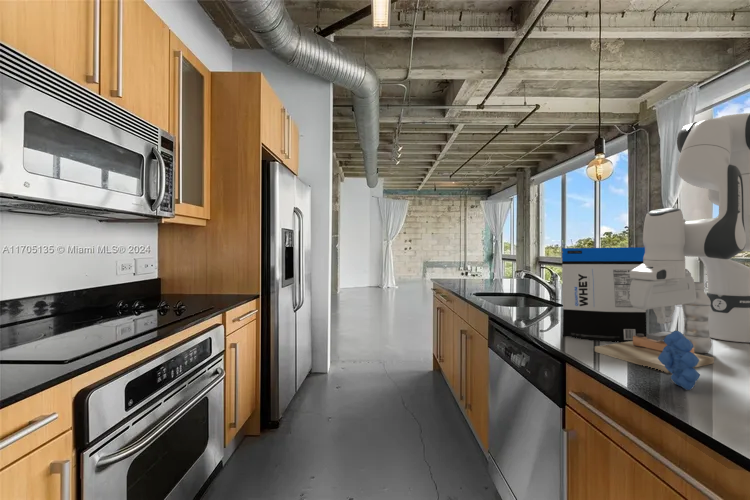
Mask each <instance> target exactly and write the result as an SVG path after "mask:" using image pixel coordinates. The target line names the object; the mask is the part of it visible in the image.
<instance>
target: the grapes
mask: <svg viewBox="0 0 750 500" xmlns="http://www.w3.org/2000/svg"><path fill="white" fill-rule="evenodd" d="M671 332H672V333H671V334H668V335H667V336H666V337H665V339H664V340H663V341H664V342H665V343H666V344H667V346H665V347H664V349H663V351H662V353H661V354H660V355H659V357H658V359H659V361H660V362H661V363H662V364H663V365H665V367H666V369H667V370H668V371H669V372H670V373H671V376H670V380H672V382H673V383H674V384H675V385H677V386H678V387H681V388H683V389H684V390H686V391H687V390H689V391H690V390H692V389H693V388H694V386H695V385H696V383H697V381H698V380H699V379H700V376H701V374H700V372H699V371H697V370H696V369H695V368H696V367H695V366H696V365H697V364H698V362H699V359H698V358H697V357H696V356H695V355H694V354H693V353H692V352H690V351H691V350H692V348H693V346H694V345H693V344H692V343H691V342H690V341H689V340H688V339H687V338H686V337H685V336H684V335H683V332H681V331H679V330H673V331H671ZM693 367H694V368H693Z"/></svg>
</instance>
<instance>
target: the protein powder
mask: <svg viewBox="0 0 750 500" xmlns="http://www.w3.org/2000/svg"><path fill="white" fill-rule="evenodd" d="M561 251H562V255H561V258H562V259H561V260H562V262H561V263H562V265H561V267H562V269H561V272H562V273H561V274H562V276H561V278H562V279H561V281H562V307H563V308H562V336H563V337H568V338H571V339H572V338H573V339H577V340H584V341H591V342H603V343H604V342H605V343H622V342H628V341H633V336H636V334H638V333H639V334H644V337H647V334H648V333H647V310H643V309H637V308H633V306H632V305H631V302H630V284H631V281H632V280H633V279H632V278H630V271H631V270H633V269H634V268H636V267H638V266H639V265H641V264H643V257H644V254H645V247H644V246H643V247H638V246H637V247H635V246H634V247H562V248H561Z"/></svg>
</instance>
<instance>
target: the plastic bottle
mask: <svg viewBox="0 0 750 500" xmlns="http://www.w3.org/2000/svg"><path fill="white" fill-rule="evenodd" d="M694 284H695V293H696V299H695V301H694V303H688V304H682V305H681V308H682V315H683V330H682V331H683V332H682V334H683V335H684V336H685V337H686V338H687V339H688V340H689V341H690V342H691V343H692V344H693V345H694V346H693V348H694V353H695V354H706V353H707V354H708V353H710V351H711V350H712V345H713V343H712V338H711V337H709V336H710V335H709V327H708V320H709V311H710V305H711V301H710V299H709V297H708V296H707V293H706V292H705V291H704V290H705V289H706V288H705V282H701V281H694Z"/></svg>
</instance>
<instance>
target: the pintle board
mask: <svg viewBox="0 0 750 500" xmlns="http://www.w3.org/2000/svg"><path fill="white" fill-rule="evenodd" d="M672 332H673V331H670V330H667V331H659V332H653V333H646V334H647V339H652V340H656V341H664V339H665V337H666V336H667V335H668V334H671V333H672ZM636 336H638V337H644V334H639V333H638V334H636ZM594 352H595V353H598V354H601V355H605V356H607V357H611V358H615V359H619V360H621V361H626V362H629V363H631V364H636V365H639V366H642V365H643V367H645V366H648V367H647V368H649V367H651V368H650V369H652V368H655V369H654V370H656V369H658V370H657V371H659V370H661V371H660V372H663V371H664V372H663V373H666V374H669V373H671V372H669V371H668V370H667V369H666V367H665V365H663V364H662V363H661V362H660V361H659V359H658V357H659V355H660V354H661V353H662V351H660V350H655V349H651V348H647V347H643V346H636V345H633V341H628V342H614V343H609V344H604V345H595V346H594ZM694 355H695V356H696V357H697V358H698V359H699V362H698V364H697V365H696V366H695V367H693V368H694V369H695V368H698V367H703V366H708V365H714V364H715V362H714V361H715V358H714V357H712V356H708V355H703V354H701V353H694Z"/></svg>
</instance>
